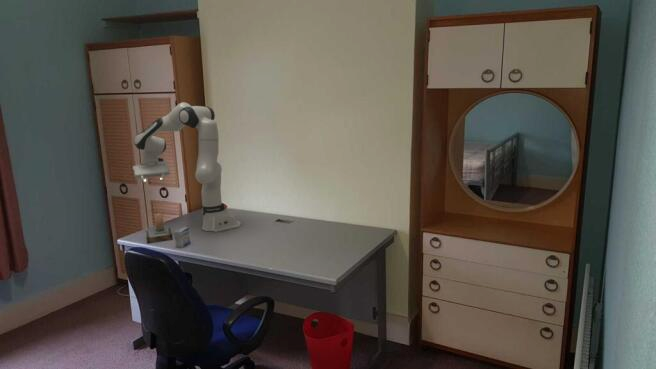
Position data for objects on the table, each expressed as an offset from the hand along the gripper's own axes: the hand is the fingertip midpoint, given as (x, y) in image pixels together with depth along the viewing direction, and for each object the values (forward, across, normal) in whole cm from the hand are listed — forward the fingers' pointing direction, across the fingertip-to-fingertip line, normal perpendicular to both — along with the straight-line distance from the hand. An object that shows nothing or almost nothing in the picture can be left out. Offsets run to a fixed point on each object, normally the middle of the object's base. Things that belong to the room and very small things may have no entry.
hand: (153, 181), depth 278 cm
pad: (+28, 0, +11) cm, 30 cm away
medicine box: (+50, +10, -12) cm, 53 cm away
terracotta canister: (+28, 0, +10) cm, 30 cm away
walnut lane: (+37, -1, +2) cm, 37 cm away
